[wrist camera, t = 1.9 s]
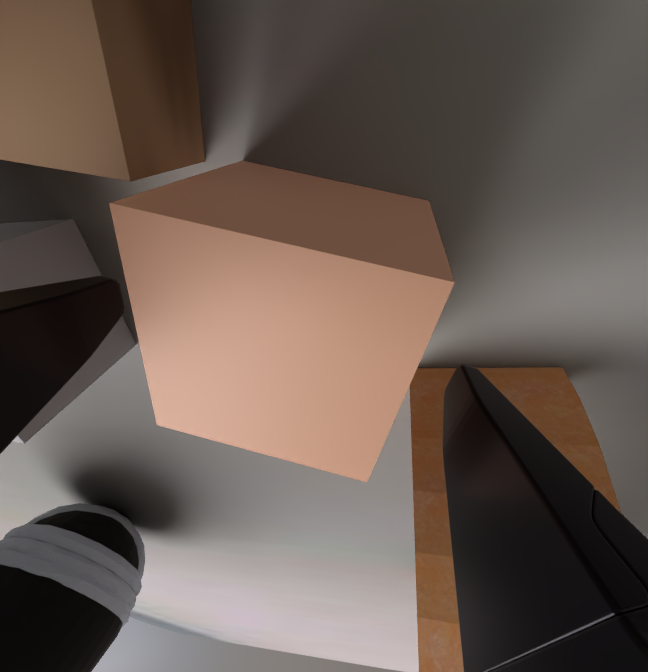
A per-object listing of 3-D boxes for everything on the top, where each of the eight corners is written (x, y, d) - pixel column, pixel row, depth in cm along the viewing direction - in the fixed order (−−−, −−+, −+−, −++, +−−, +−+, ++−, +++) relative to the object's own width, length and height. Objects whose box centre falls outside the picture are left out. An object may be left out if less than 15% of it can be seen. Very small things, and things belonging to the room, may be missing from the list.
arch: (413, 574, 25) (419, 802, 16) (409, 364, 14) (421, 720, 6) (498, 587, 23) (550, 843, 15) (567, 364, 12) (874, 833, 4)
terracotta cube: (379, 349, 14) (367, 482, 9) (241, 316, 14) (156, 424, 9) (428, 200, 10) (454, 282, 5) (243, 160, 11) (108, 202, 6)
